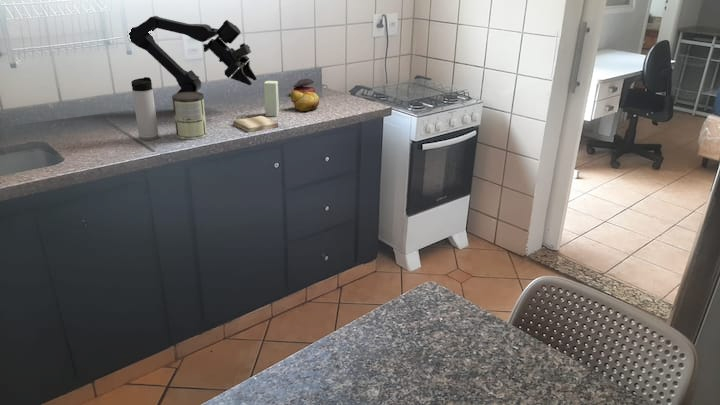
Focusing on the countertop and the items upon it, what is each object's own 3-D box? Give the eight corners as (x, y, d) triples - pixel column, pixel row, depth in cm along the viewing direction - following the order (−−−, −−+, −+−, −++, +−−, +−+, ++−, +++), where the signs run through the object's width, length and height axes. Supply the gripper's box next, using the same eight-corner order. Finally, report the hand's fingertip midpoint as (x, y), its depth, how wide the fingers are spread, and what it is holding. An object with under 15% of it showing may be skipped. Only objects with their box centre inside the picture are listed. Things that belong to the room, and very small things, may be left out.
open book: (249, 132, 194) (249, 128, 194) (233, 124, 203) (233, 120, 202) (278, 126, 201) (278, 123, 201) (261, 119, 210) (261, 115, 209)
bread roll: (311, 104, 234) (311, 85, 231) (327, 108, 228) (327, 89, 225) (288, 109, 226) (287, 90, 222) (303, 113, 220) (303, 94, 216)
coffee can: (171, 134, 189) (166, 94, 184) (197, 129, 196) (194, 90, 190) (185, 141, 183) (181, 100, 177) (212, 135, 189) (209, 95, 184)
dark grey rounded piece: (296, 106, 248) (285, 87, 244) (301, 99, 257) (291, 80, 253) (317, 97, 244) (306, 77, 240) (322, 90, 252) (311, 70, 249)
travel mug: (163, 136, 187) (156, 78, 179) (150, 141, 181) (142, 81, 173) (148, 134, 189) (140, 76, 181) (135, 139, 183) (126, 79, 175)
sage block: (265, 116, 215) (264, 83, 209) (267, 113, 219) (266, 80, 213) (276, 116, 215) (275, 83, 209) (278, 113, 219) (277, 81, 213)
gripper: (230, 40, 196) (262, 72, 201) (242, 34, 213) (271, 63, 218) (211, 62, 200) (242, 92, 204) (224, 54, 217) (253, 82, 221)
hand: (253, 82), depth 212 cm, fingers open, 9 cm apart
